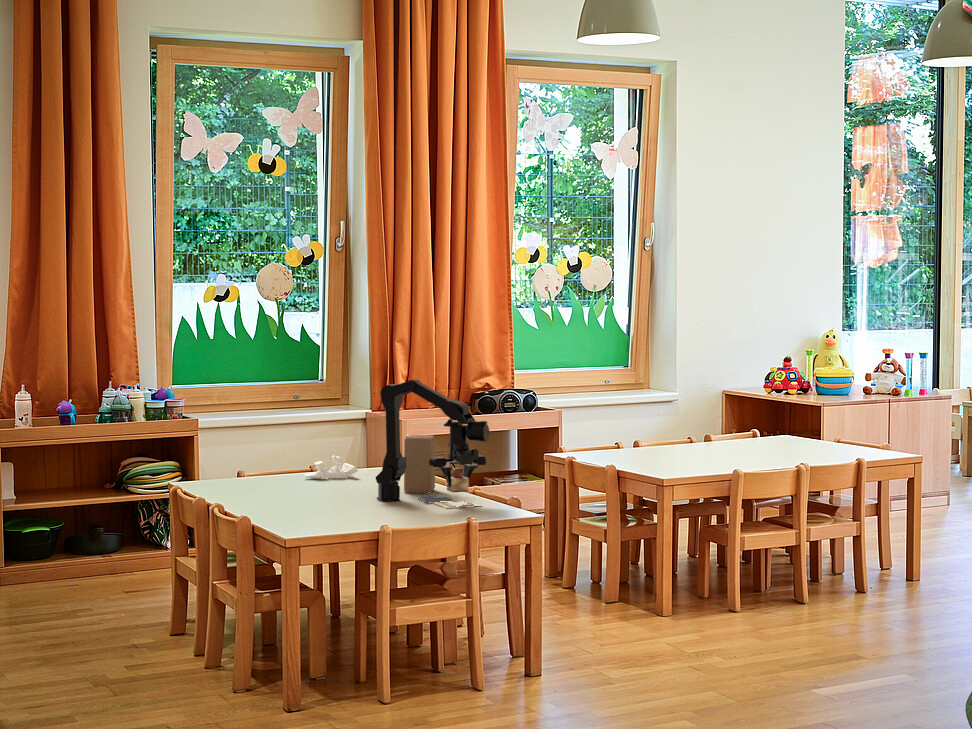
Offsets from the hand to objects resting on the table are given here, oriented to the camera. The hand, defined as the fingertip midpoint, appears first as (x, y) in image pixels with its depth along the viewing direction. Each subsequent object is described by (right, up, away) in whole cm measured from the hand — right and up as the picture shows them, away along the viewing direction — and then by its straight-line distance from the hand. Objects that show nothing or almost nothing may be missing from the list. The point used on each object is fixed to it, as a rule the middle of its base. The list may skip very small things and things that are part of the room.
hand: (457, 486), depth 382 cm
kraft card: (0, -6, 0) cm, 6 cm away
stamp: (0, -1, 0) cm, 1 cm away
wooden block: (-14, -5, +29) cm, 33 cm away
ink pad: (-8, -6, +8) cm, 13 cm away
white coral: (-51, -4, +60) cm, 79 cm away
